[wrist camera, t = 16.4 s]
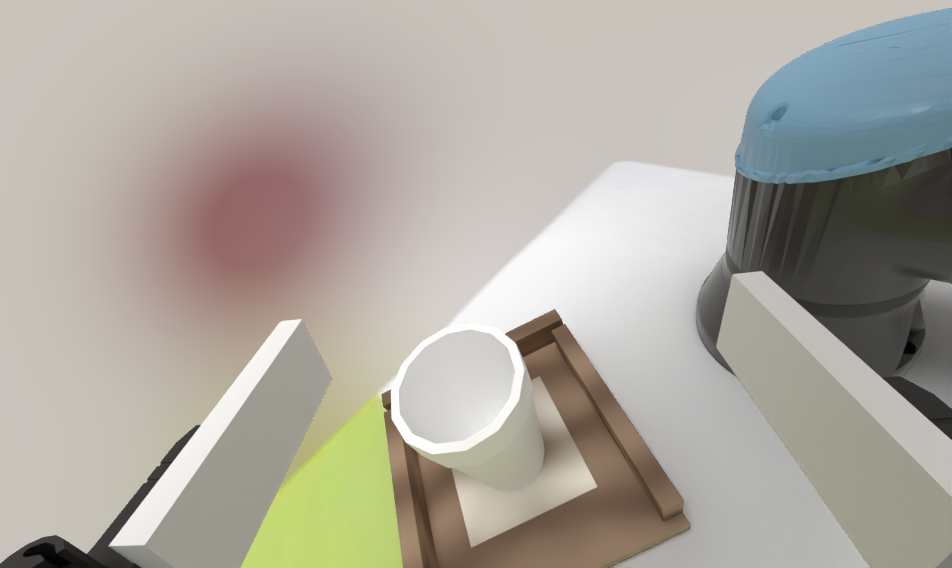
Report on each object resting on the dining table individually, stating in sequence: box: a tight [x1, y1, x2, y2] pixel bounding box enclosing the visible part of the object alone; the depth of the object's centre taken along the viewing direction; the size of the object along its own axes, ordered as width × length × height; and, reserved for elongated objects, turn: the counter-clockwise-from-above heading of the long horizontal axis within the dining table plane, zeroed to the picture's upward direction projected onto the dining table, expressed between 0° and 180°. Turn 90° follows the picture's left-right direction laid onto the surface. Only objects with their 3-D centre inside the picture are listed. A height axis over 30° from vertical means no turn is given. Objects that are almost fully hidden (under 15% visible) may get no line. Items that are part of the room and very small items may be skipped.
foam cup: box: [391, 322, 545, 492], centre depth 30 cm, size 10×9×13 cm
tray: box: [382, 309, 690, 568], centre depth 34 cm, size 20×20×4 cm
